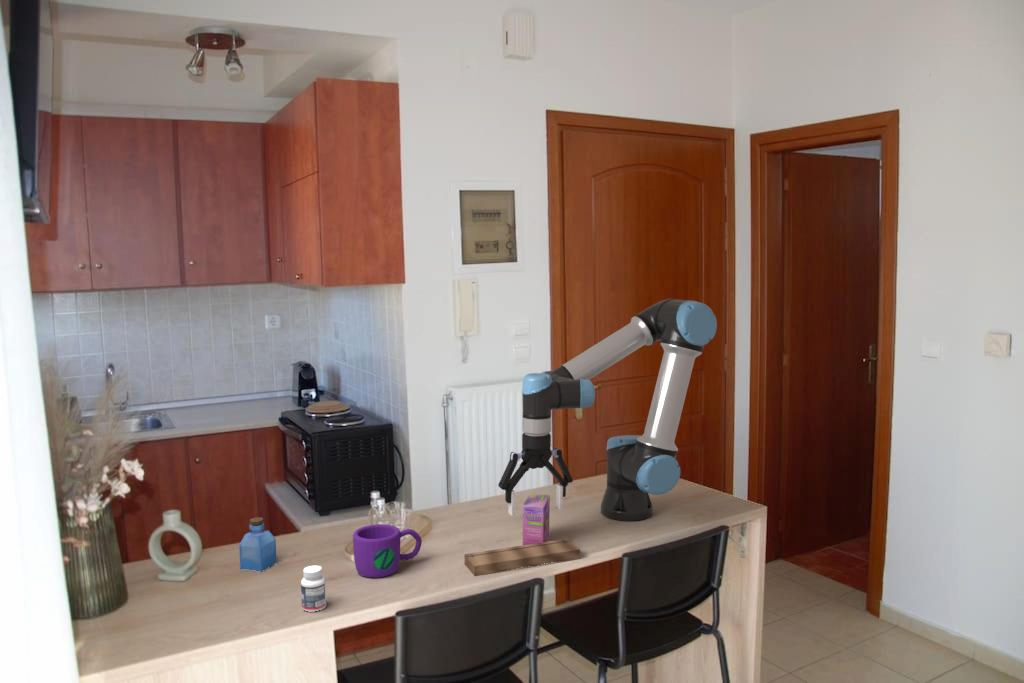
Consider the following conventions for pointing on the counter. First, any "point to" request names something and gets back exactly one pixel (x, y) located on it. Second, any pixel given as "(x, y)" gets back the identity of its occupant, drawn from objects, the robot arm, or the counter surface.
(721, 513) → the counter surface
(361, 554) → the mug
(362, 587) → the counter surface
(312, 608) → the pill bottle
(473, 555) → the plank
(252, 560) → the perfume bottle
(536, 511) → the box
